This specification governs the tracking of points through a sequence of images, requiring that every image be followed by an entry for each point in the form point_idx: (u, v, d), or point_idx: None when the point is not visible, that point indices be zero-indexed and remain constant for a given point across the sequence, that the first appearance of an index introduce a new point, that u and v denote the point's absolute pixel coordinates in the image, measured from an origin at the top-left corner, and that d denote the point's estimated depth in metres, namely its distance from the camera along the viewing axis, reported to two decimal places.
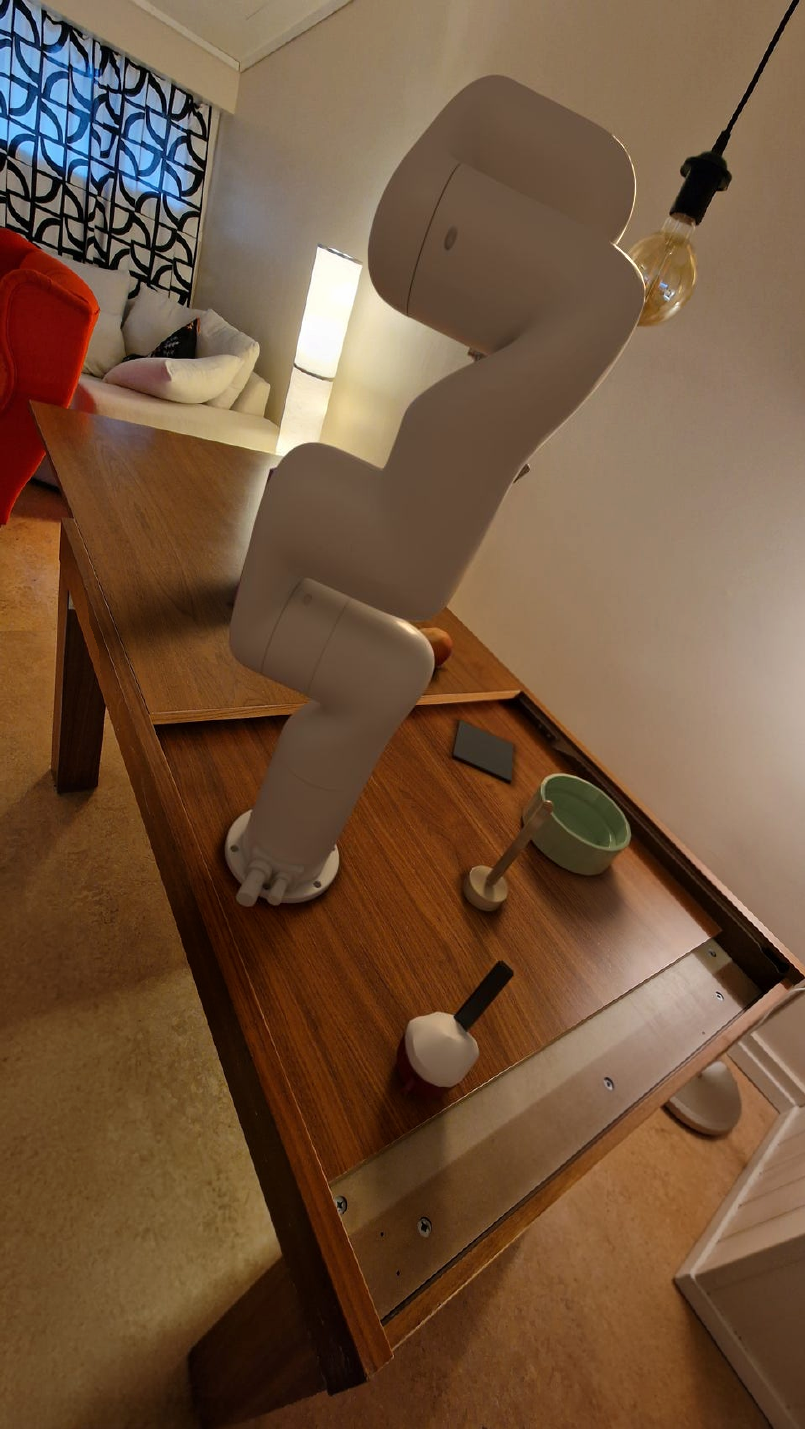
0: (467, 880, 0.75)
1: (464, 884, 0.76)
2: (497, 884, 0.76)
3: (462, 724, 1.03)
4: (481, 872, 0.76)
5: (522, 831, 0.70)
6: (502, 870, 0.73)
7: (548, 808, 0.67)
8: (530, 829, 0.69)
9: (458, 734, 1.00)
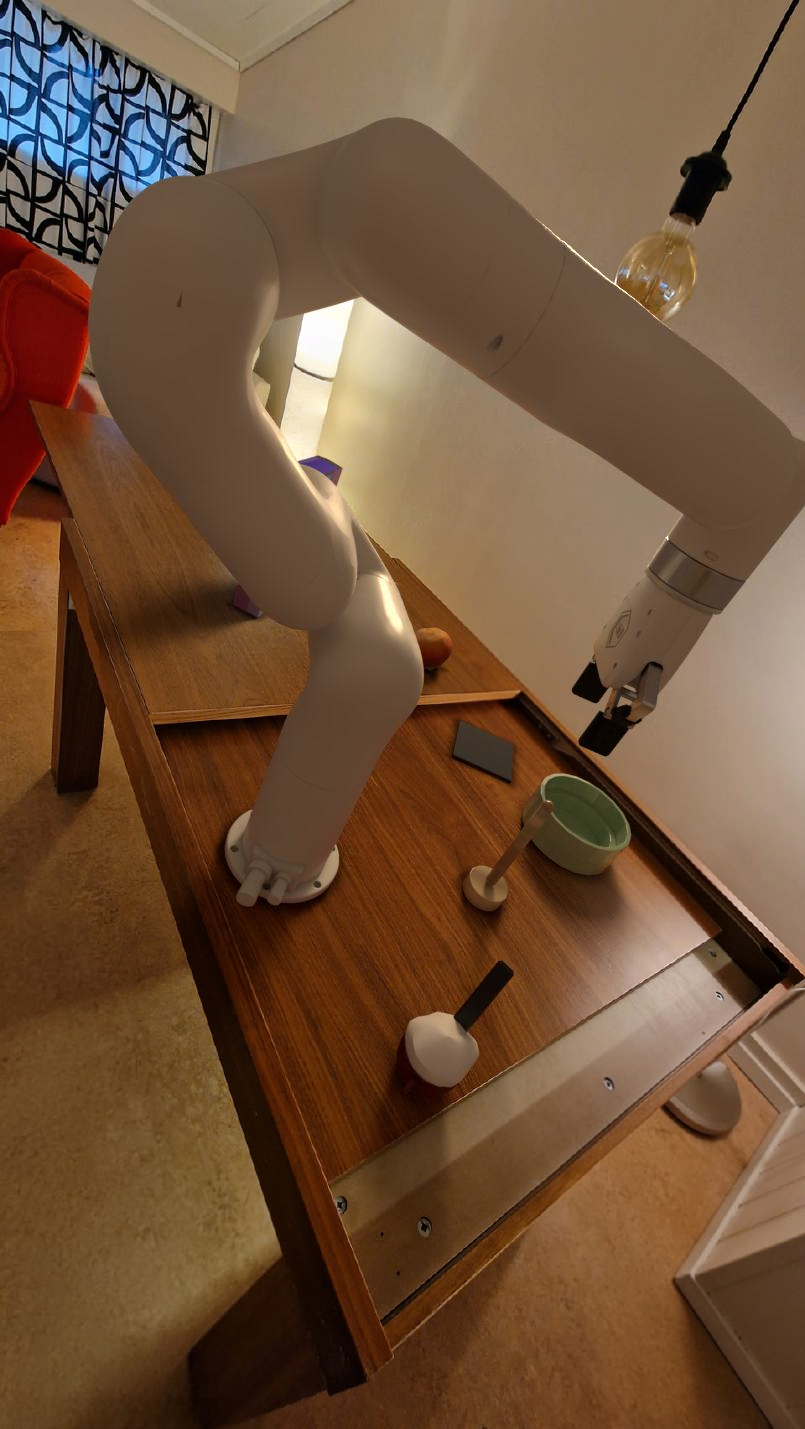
0: (467, 880, 0.75)
1: (464, 884, 0.76)
2: (497, 884, 0.76)
3: (462, 724, 1.03)
4: (481, 872, 0.76)
5: (522, 831, 0.70)
6: (502, 870, 0.73)
7: (548, 808, 0.67)
8: (530, 829, 0.69)
9: (458, 734, 1.00)
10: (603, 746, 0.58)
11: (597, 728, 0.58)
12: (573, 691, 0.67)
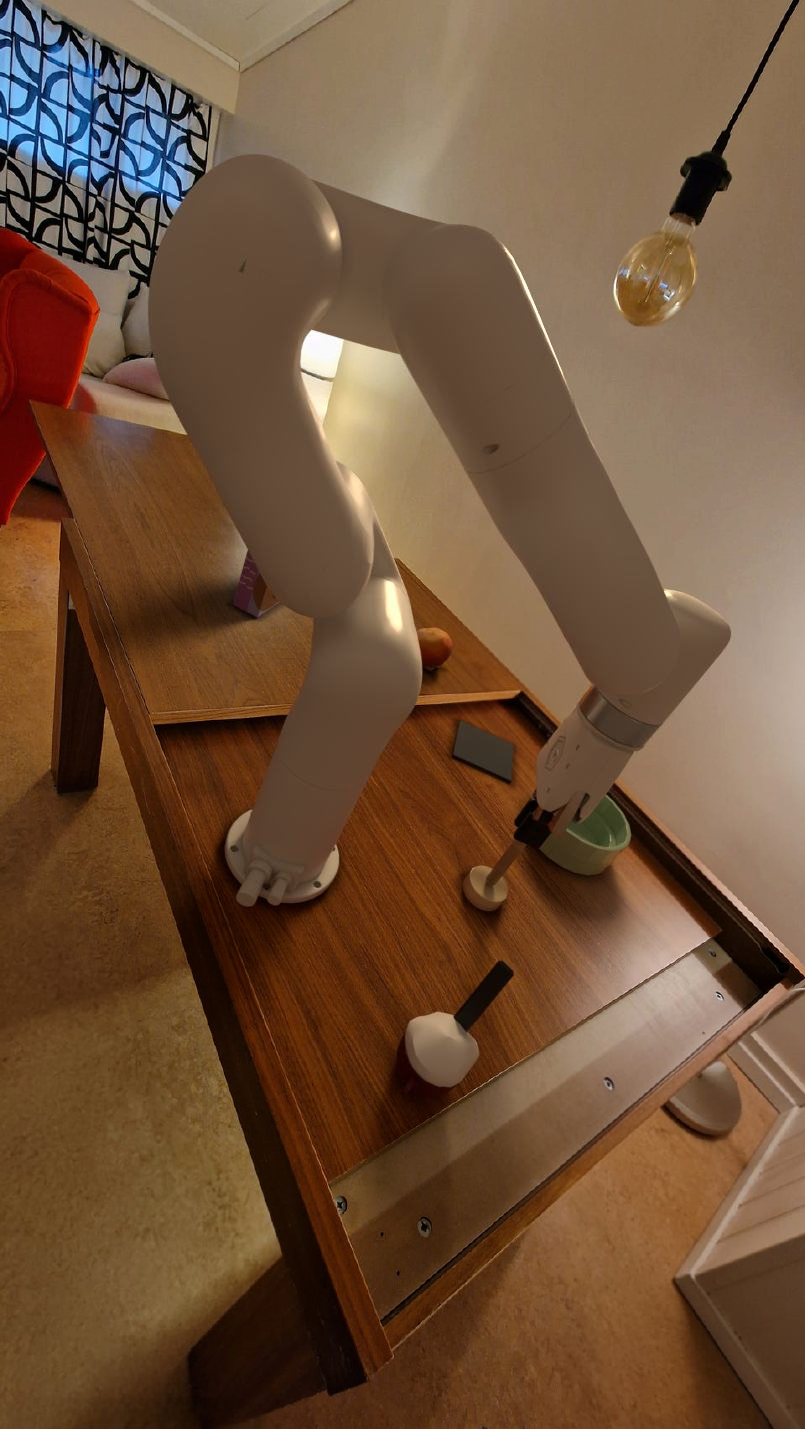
0: (467, 880, 0.75)
1: (464, 884, 0.76)
2: (497, 884, 0.76)
3: (462, 724, 1.03)
4: (481, 872, 0.76)
5: None
6: (502, 870, 0.73)
7: None
8: None
9: (458, 734, 1.00)
10: (533, 841, 0.68)
11: (528, 826, 0.68)
12: (515, 823, 0.71)
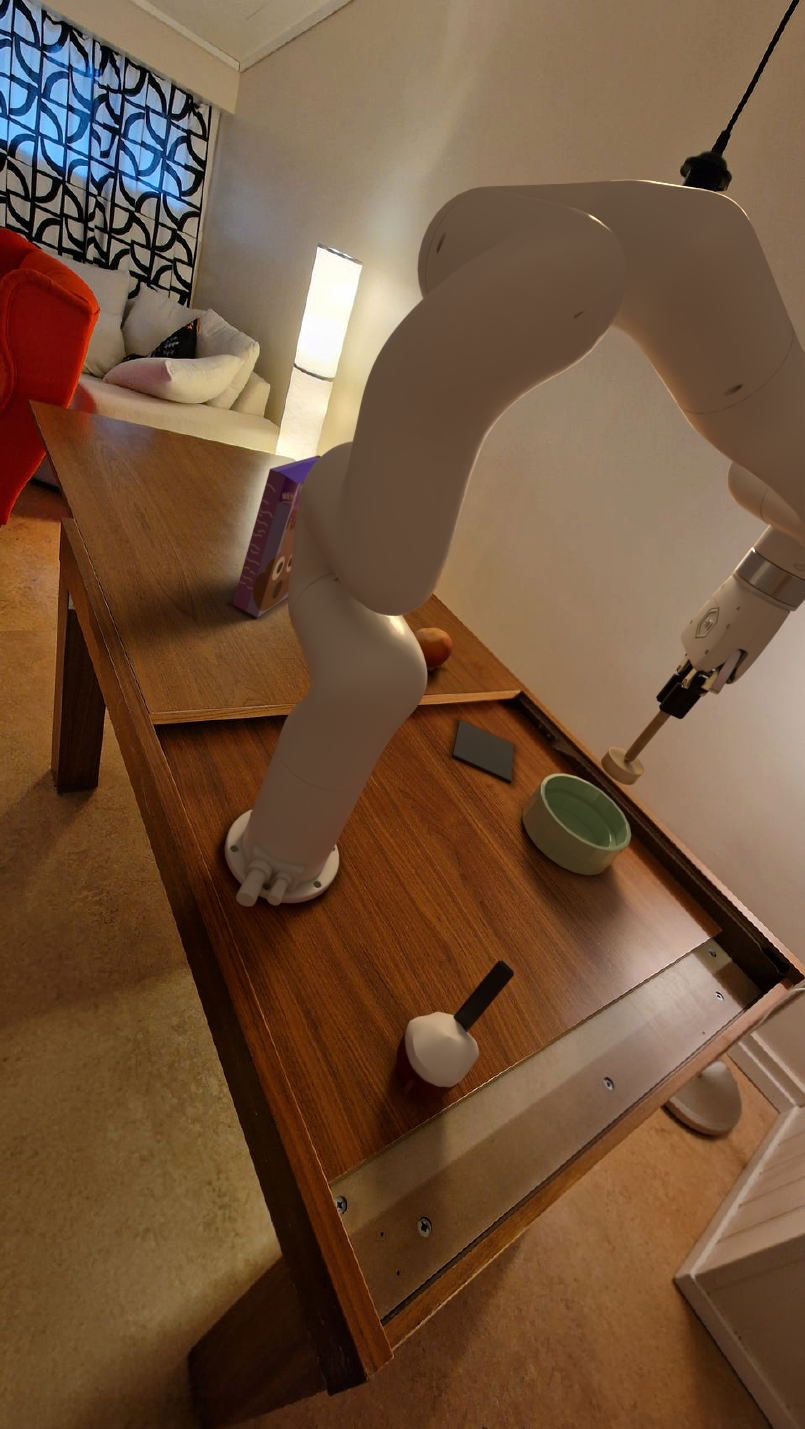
0: (607, 757, 0.82)
1: (603, 762, 0.82)
2: (633, 762, 0.82)
3: (462, 724, 1.03)
4: (618, 751, 0.83)
5: None
6: (643, 745, 0.80)
7: None
8: None
9: (458, 734, 1.00)
10: (680, 710, 0.75)
11: (675, 696, 0.74)
12: (658, 699, 0.77)
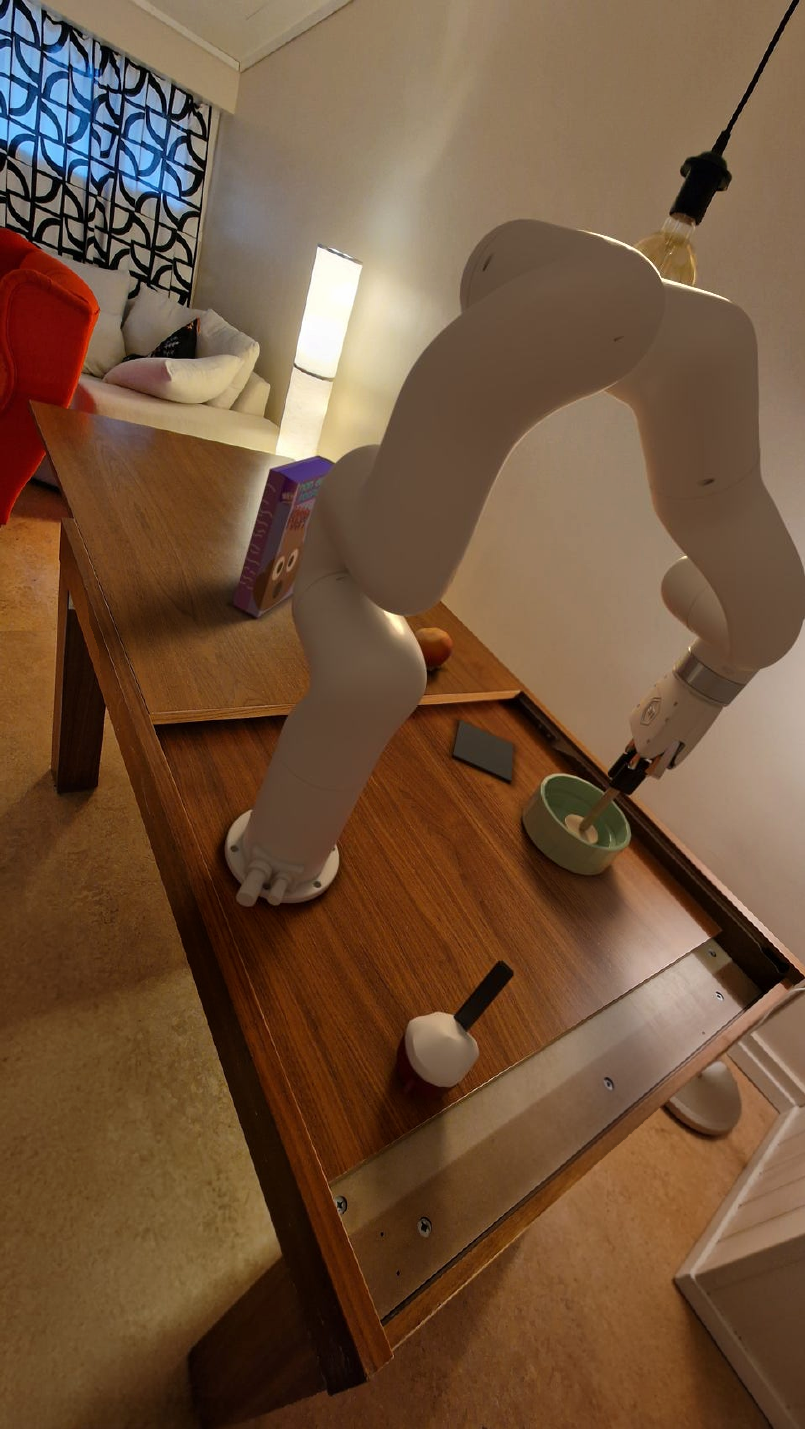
0: None
1: None
2: (588, 829, 0.88)
3: (462, 724, 1.03)
4: (574, 819, 0.88)
5: None
6: (596, 816, 0.85)
7: None
8: None
9: (458, 734, 1.00)
10: (627, 788, 0.80)
11: (623, 775, 0.80)
12: (609, 775, 0.83)
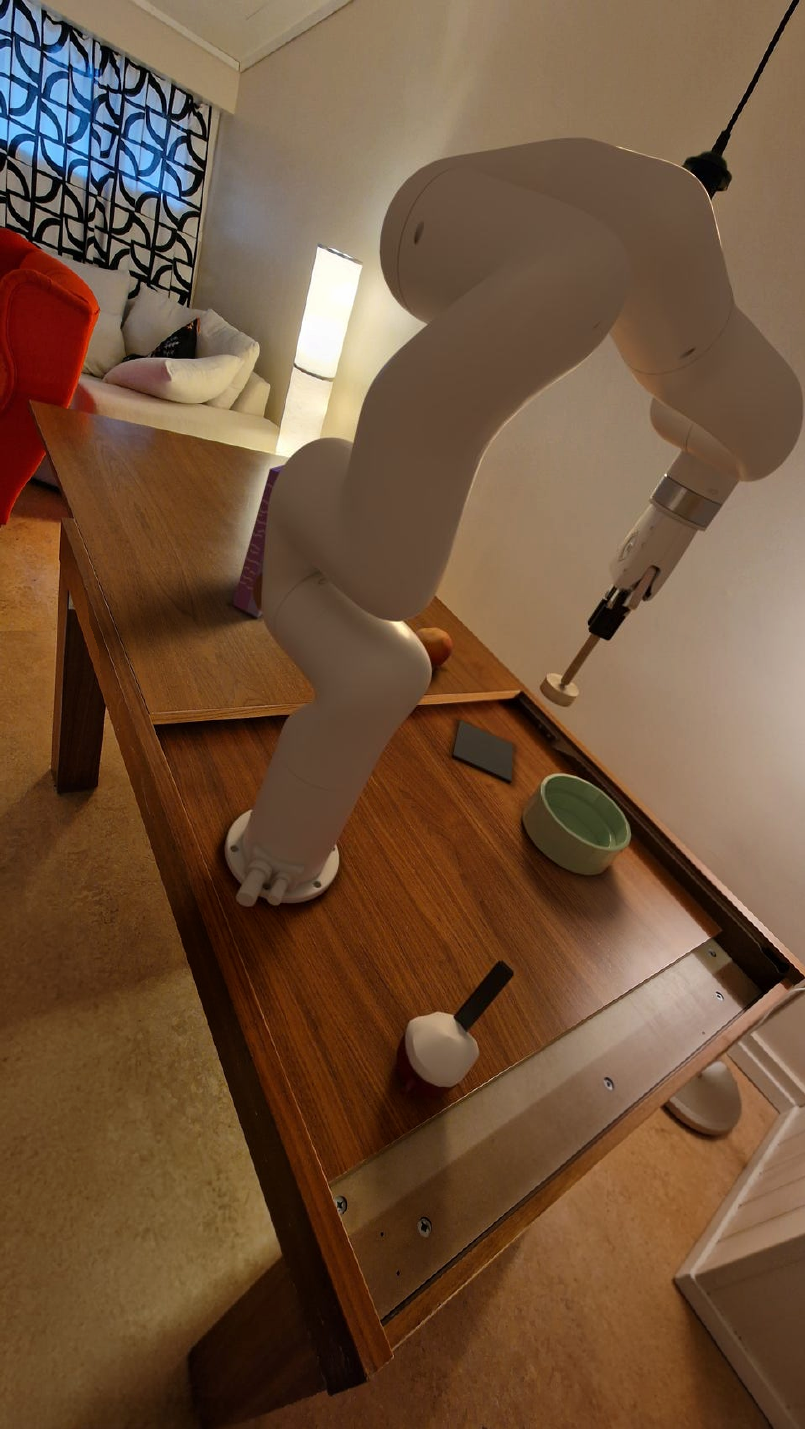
0: (544, 681, 0.88)
1: (541, 686, 0.88)
2: (569, 686, 0.88)
3: (462, 724, 1.03)
4: (555, 677, 0.89)
5: None
6: (576, 668, 0.86)
7: None
8: None
9: (458, 734, 1.00)
10: (606, 631, 0.81)
11: (602, 618, 0.81)
12: (588, 623, 0.84)
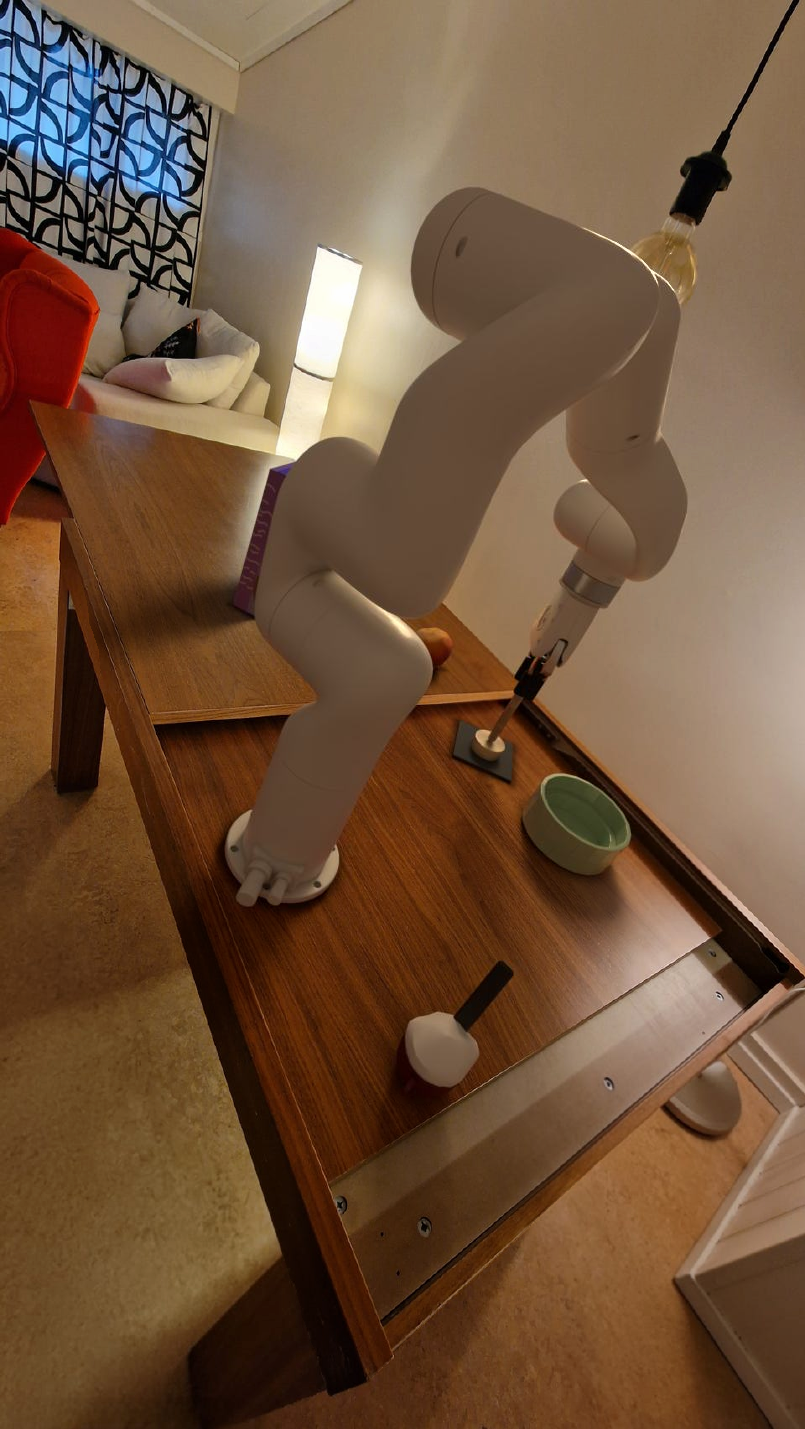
0: (474, 738, 0.99)
1: (471, 742, 0.99)
2: (496, 742, 0.99)
3: (462, 724, 1.03)
4: (484, 733, 1.00)
5: None
6: (500, 727, 0.97)
7: None
8: None
9: (458, 734, 1.00)
10: (528, 693, 0.90)
11: (524, 681, 0.90)
12: (515, 677, 0.95)
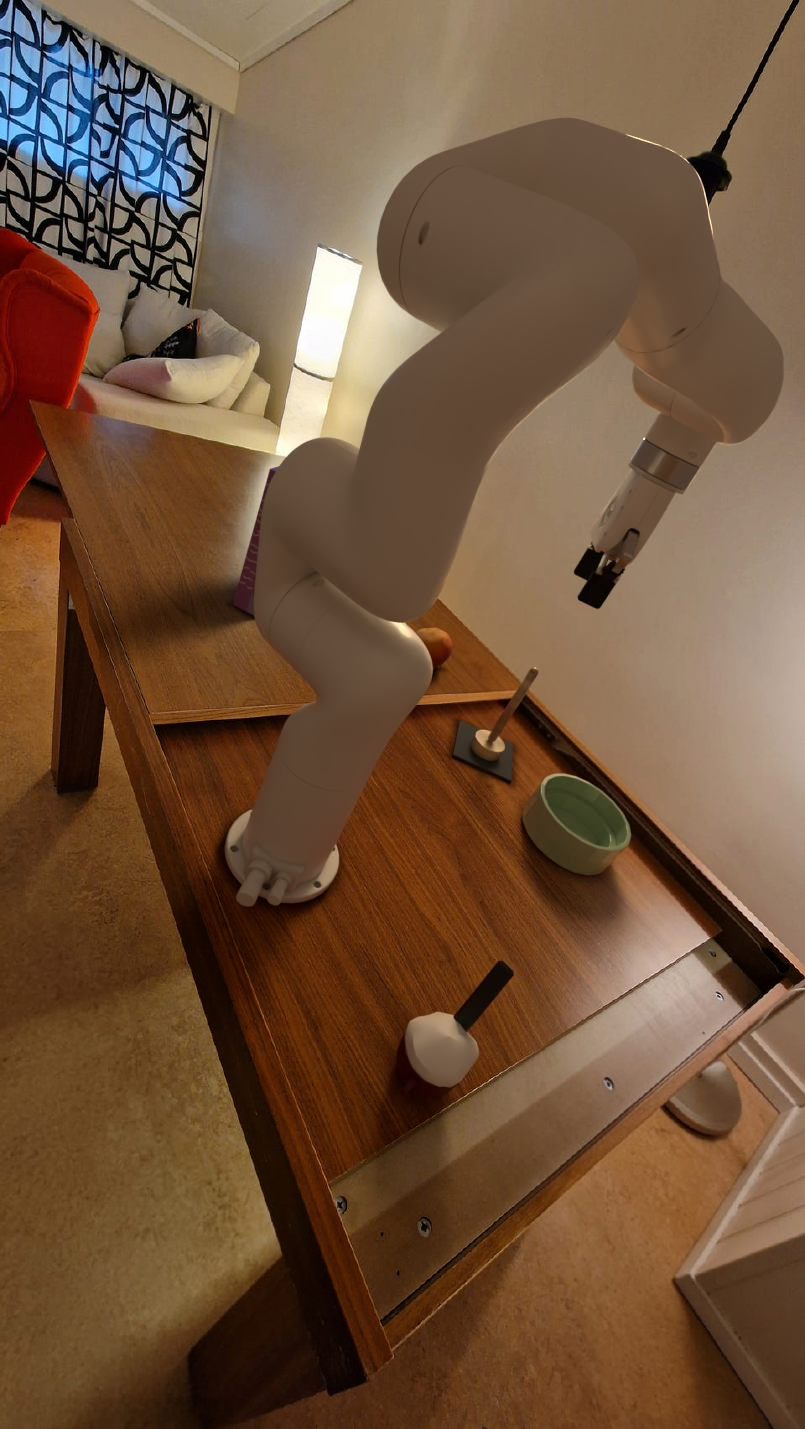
0: (474, 738, 0.99)
1: (471, 742, 0.99)
2: (496, 742, 0.99)
3: (462, 724, 1.03)
4: (484, 733, 1.00)
5: (515, 693, 0.94)
6: (500, 727, 0.97)
7: (534, 672, 0.91)
8: (521, 690, 0.93)
9: (458, 734, 1.00)
10: (596, 598, 0.78)
11: (591, 585, 0.78)
12: (575, 572, 0.87)
